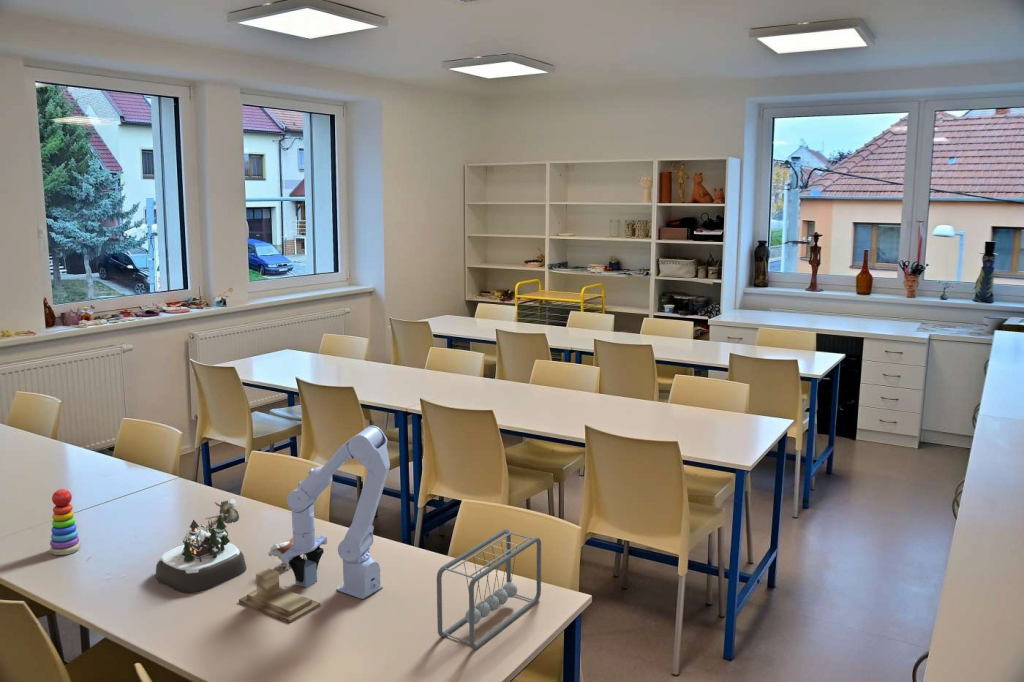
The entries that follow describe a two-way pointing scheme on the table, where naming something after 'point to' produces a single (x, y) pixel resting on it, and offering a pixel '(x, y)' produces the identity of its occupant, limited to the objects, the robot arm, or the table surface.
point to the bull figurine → (282, 551)
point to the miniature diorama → (201, 560)
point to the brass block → (267, 582)
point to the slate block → (309, 574)
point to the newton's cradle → (498, 596)
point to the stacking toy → (63, 525)
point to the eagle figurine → (229, 510)
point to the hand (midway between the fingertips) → (306, 577)
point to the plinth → (281, 604)
